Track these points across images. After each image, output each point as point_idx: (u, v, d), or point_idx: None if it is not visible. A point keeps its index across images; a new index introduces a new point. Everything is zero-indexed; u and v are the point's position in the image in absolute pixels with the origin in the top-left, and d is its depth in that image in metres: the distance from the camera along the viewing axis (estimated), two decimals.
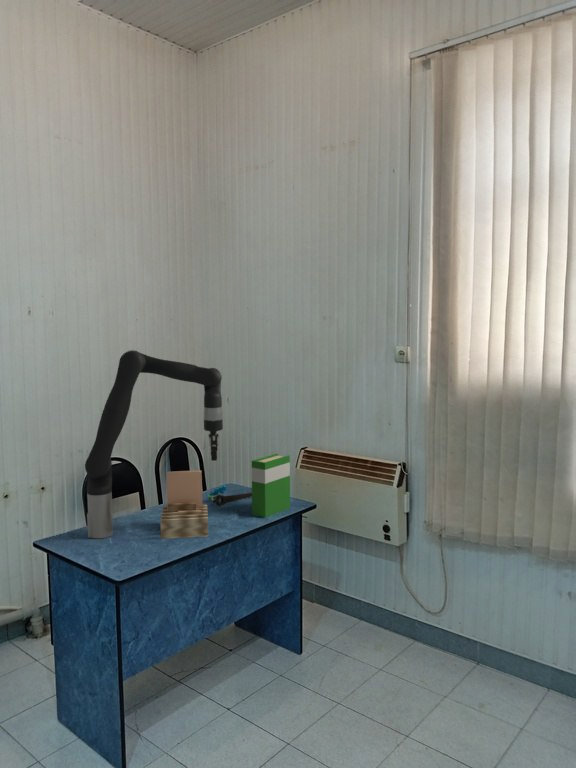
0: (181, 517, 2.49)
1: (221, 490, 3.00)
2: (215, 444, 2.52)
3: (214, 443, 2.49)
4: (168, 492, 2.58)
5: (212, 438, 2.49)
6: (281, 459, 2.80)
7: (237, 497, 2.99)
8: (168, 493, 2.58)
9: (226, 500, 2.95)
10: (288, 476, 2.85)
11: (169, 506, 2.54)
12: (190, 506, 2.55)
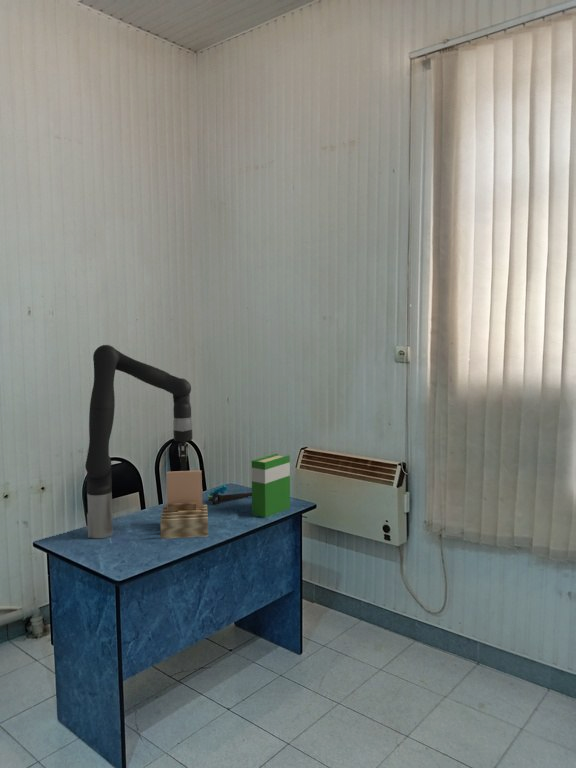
0: (181, 517, 2.49)
1: (221, 490, 3.00)
2: (184, 454, 2.54)
3: (183, 453, 2.51)
4: (168, 492, 2.58)
5: (181, 448, 2.51)
6: (281, 459, 2.80)
7: (235, 497, 3.00)
8: (168, 493, 2.58)
9: (223, 499, 2.96)
10: (288, 476, 2.85)
11: (169, 506, 2.54)
12: (190, 506, 2.55)
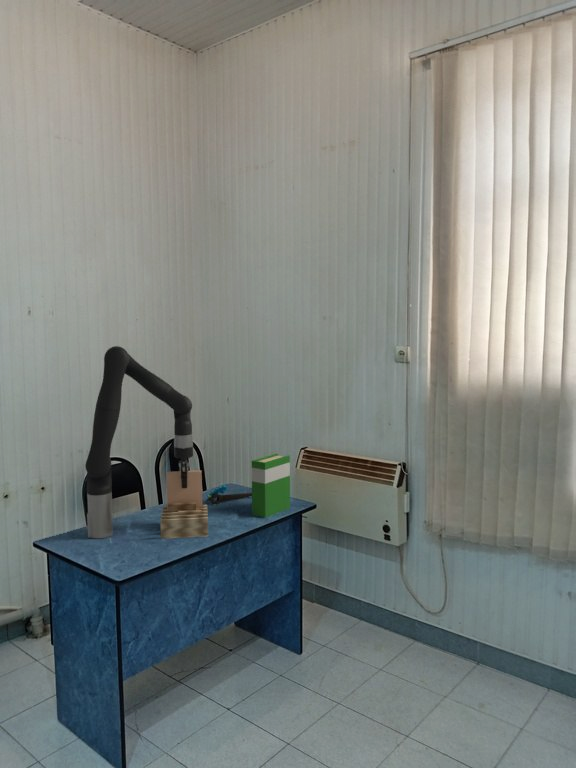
0: (181, 517, 2.49)
1: (221, 490, 3.00)
2: None
3: (184, 474, 2.54)
4: (168, 492, 2.58)
5: (182, 470, 2.53)
6: (281, 459, 2.80)
7: (234, 497, 3.00)
8: (168, 493, 2.58)
9: (222, 499, 2.96)
10: (288, 476, 2.85)
11: (169, 506, 2.54)
12: (190, 506, 2.55)
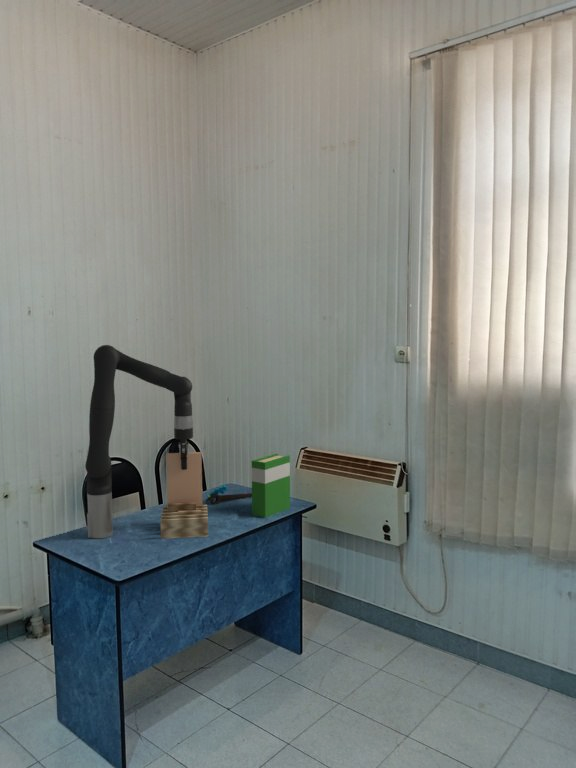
0: (181, 517, 2.49)
1: (221, 490, 3.00)
2: None
3: (184, 455, 2.53)
4: (168, 474, 2.57)
5: (182, 451, 2.52)
6: (281, 459, 2.80)
7: (234, 497, 3.00)
8: (168, 475, 2.57)
9: (221, 499, 2.96)
10: (288, 476, 2.85)
11: (169, 506, 2.54)
12: (190, 506, 2.55)
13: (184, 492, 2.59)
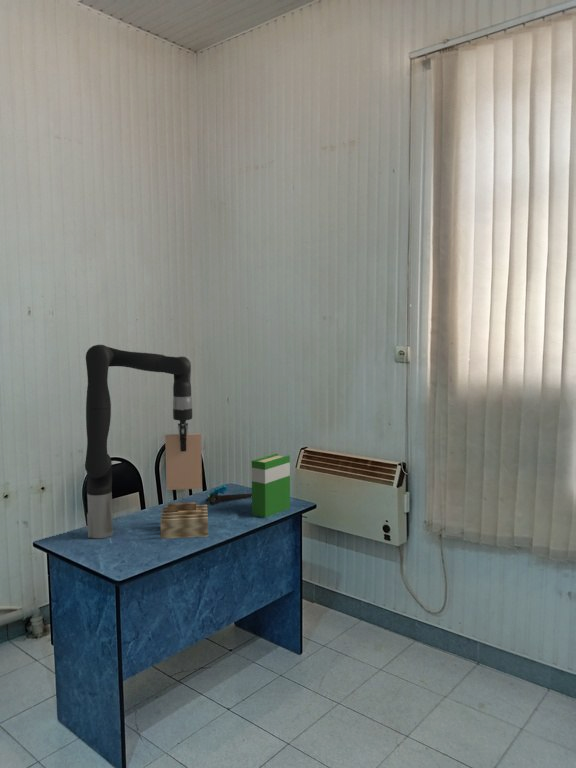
0: (181, 517, 2.49)
1: (221, 490, 3.00)
2: None
3: (183, 436, 2.49)
4: (167, 455, 2.53)
5: (181, 432, 2.47)
6: (281, 459, 2.80)
7: (233, 497, 2.99)
8: (167, 456, 2.53)
9: (220, 499, 2.96)
10: (288, 476, 2.85)
11: (169, 506, 2.54)
12: (190, 506, 2.55)
13: (183, 474, 2.54)
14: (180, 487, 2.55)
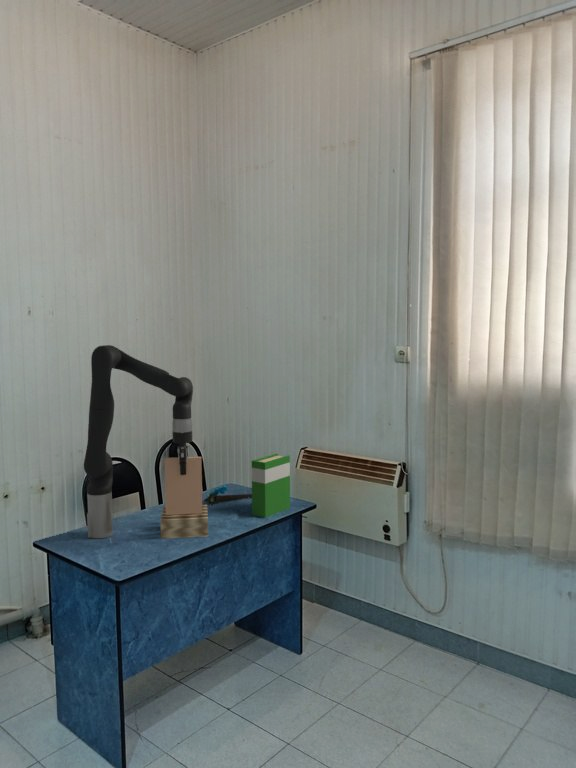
0: (181, 517, 2.49)
1: (221, 490, 3.00)
2: None
3: (183, 460, 2.40)
4: (166, 479, 2.45)
5: (180, 456, 2.39)
6: (281, 459, 2.80)
7: (232, 497, 2.99)
8: (166, 480, 2.45)
9: (219, 500, 2.95)
10: (288, 476, 2.85)
11: None
12: None
13: (183, 499, 2.46)
14: (180, 512, 2.47)
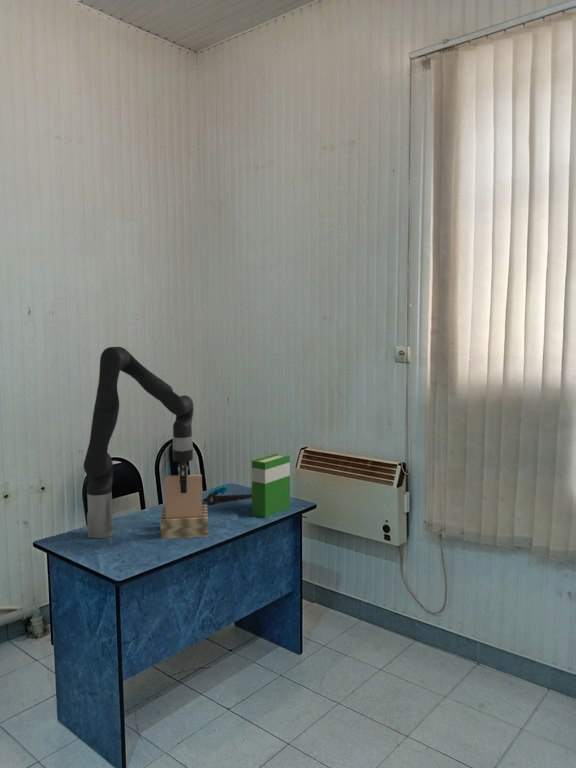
0: None
1: (221, 490, 3.00)
2: None
3: (183, 478, 2.41)
4: (166, 497, 2.45)
5: (181, 474, 2.40)
6: (281, 459, 2.80)
7: (232, 498, 2.98)
8: (166, 498, 2.45)
9: (218, 500, 2.95)
10: (288, 476, 2.85)
11: None
12: None
13: (183, 516, 2.47)
14: None
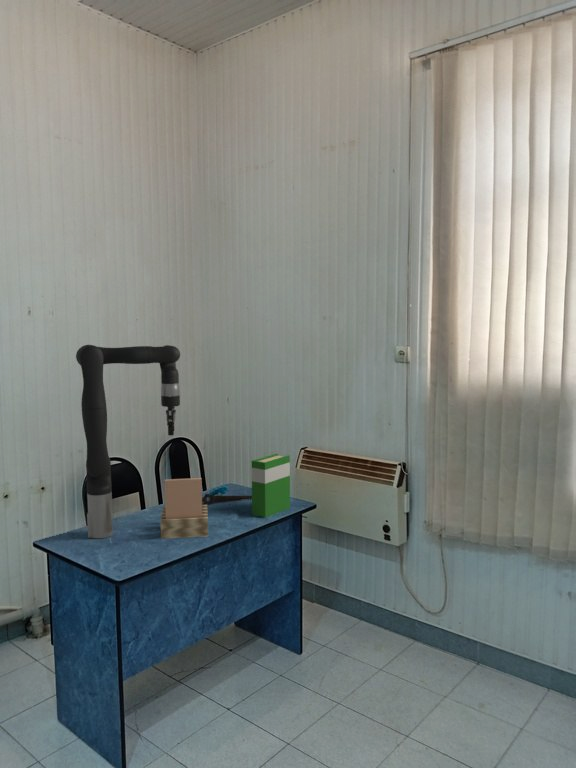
0: None
1: (221, 490, 3.00)
2: (172, 419, 2.58)
3: (170, 418, 2.55)
4: (166, 501, 2.45)
5: (168, 413, 2.55)
6: (281, 459, 2.80)
7: (229, 498, 2.98)
8: (166, 502, 2.45)
9: (215, 500, 2.95)
10: (288, 476, 2.85)
11: None
12: None
13: None
14: None
